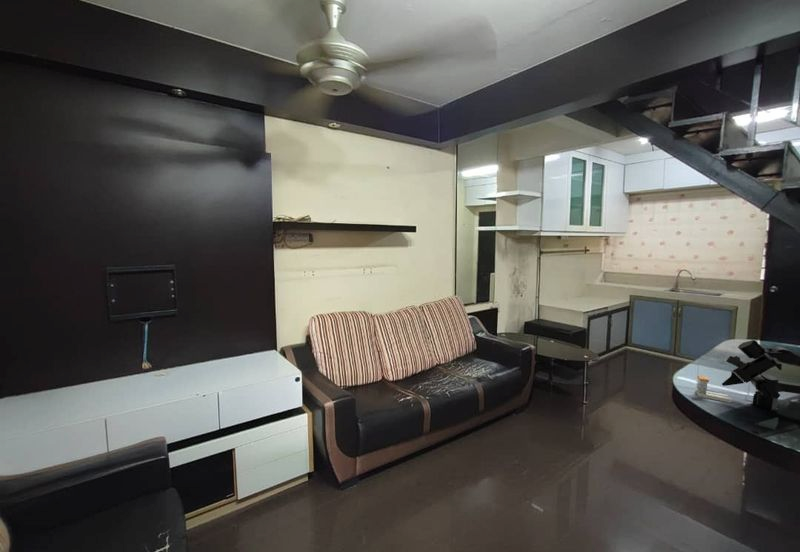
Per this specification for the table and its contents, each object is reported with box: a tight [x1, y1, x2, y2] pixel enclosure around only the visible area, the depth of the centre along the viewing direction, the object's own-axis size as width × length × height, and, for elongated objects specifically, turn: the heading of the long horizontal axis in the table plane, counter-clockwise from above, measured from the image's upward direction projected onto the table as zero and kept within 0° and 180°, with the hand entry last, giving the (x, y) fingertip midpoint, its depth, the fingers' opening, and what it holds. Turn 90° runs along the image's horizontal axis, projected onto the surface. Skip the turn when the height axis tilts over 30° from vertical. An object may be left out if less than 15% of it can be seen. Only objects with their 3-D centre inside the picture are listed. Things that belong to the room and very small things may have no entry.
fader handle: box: [696, 374, 710, 393], centre depth 165 cm, size 3×5×7 cm, turn 151°
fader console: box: [695, 388, 733, 403], centre depth 163 cm, size 12×6×2 cm, turn 61°
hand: (722, 385), depth 161 cm, fingers closed
